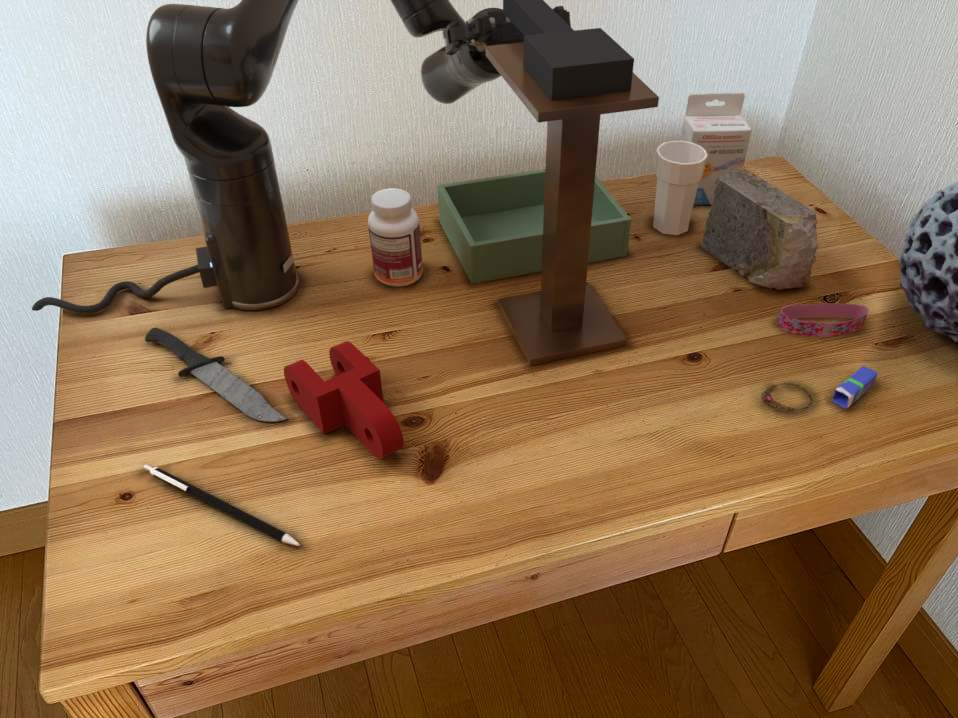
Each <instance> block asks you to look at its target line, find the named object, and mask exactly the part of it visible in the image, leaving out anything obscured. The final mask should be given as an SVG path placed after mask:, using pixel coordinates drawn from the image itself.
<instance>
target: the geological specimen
mask: <svg viewBox="0 0 958 718" xmlns="http://www.w3.org/2000/svg"><path fill="white" fill-rule="evenodd" d="M818 214H819V213H817V212H816V211H815V210H813V209H811V208H810V207H808V206H806V205H805V204H803V203H801V202H800V201H798V200H796V199H795V198H794V197H792V196H791V195H790V194H787V193H786V192H785V191H783V190H781V189H779V188H778V187H776V186H774V185H773V184H772V183H769V182H768V181H766V180H765V179H763V178H761V177H759V176H758V175H757V174H755V173H754V172H752V171H750V170H749V169H745V168H743V169H741V170H740V169H738V170H735V171H730V173H727V174H724V175H722V177H721V178H720V179H719V182H718V185H717V187H716V189H715V191H714V201H713V205H711V206H710V208H709V212H708V213H707V215H708V216H707V218H706V221H705V229H704V232H703V235H702V239H701V243H700V248H701V249H702V250H703V251H705V252H707V253H708V254H710V255H711V256H712V257H713V258H716V259H717V260H718V261H720V262H721V263H723V264H725V265H726V266H727V267H729V268H730V269H732V270H733V271H738V274H739V275H741V276H742V277H746V278H747V279H748V282H749V283H751V284H754V285H758V286H760V287H763V288H768V289H770V290H771V289H775V290H778V291H783V290H787V289H791V290H792V289H795V288H803V287H805V285H806V284H805V283H808V282H809V280H810V278H811V275H812V268H813V264H814V263H817V262H816V261H817V257H816V252H817V250H818V247H819V242H818V232H817V224H818V219H817V215H818Z"/></svg>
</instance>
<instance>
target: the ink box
mask: <svg viewBox="0 0 958 718" xmlns="http://www.w3.org/2000/svg"><path fill="white" fill-rule="evenodd" d="M745 97H746V95H745V93H744V92H719V93H718V92H717V93H716V92H715V93H690V94H689V95H688V97H687V104H686V109H685V115H683V122H682V127H681V134H680V140H679V141H686V142H691V143H694V144H697V145H699V146H701V147H702V148H703V149H705V150H706V152H707V155H708V156H707V160H706V164H705V169H704V173H703V176H702V178H701V180H700V181H699V184H698V188H697V192H696V196H695V201H694V205H693V206H712V205H713V201H714V191H715V189H716V187H717V185H718V182H719V179H720V178H721V177H722V175H724V174H727V173H730V171H735V170H738V169H740V170H741V169H744V167H745V162H746V157H747V152H748V148H749V142H750V140H751V135H752V134H751V133H752V127H750V124H749V123H748V122H747V120H746V119H745V117H744V116H743V114H742V111H743V105H744V100H745ZM715 100H716V101H718V102H723V103H724V104H723V105H706V104H707V103H712V102H714V101H715Z"/></svg>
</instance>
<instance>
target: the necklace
mask: <svg viewBox="0 0 958 718" xmlns="http://www.w3.org/2000/svg"><path fill="white" fill-rule="evenodd" d="M784 385H785V386H786V385H787V386H794V387H799V388H800V389H802V390H803V391H805V392H807V395H808V396H809V397H810V402H809V404H808V405H807V406H805V407H803V410H805V409H808V408H809V407H811V406H812V404H813V398H812V397H813V396H812V395H811V393H809V392H808V391H807V389H805V388H804V387H802V386H800V385H797V384H794V383H781V386H784ZM779 386H780V383H779V384H775V385H774V384H773V385H772V386H770V387H768V388H767V389H766V390H764V391H763V392H761V396H760V398H761V401H762V403H763V404H764V405H766V406H768V407H770V408H772V409H778V410H783V411H786V412H794V411H802V408H793V407H790V406H787V405H784V404H781V402H778V401H775V400H774V399H773V397H772V392H773V391H774V390H775V389H776V388H777V387H779Z"/></svg>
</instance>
